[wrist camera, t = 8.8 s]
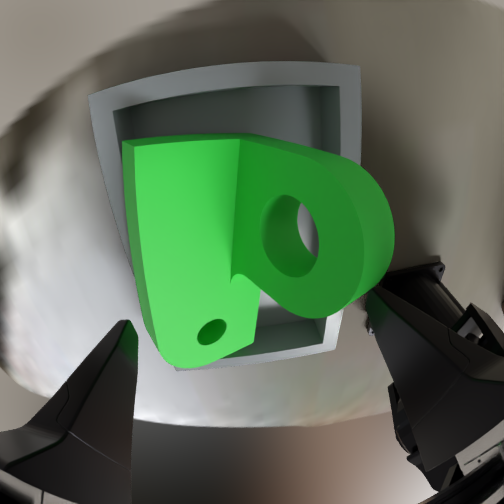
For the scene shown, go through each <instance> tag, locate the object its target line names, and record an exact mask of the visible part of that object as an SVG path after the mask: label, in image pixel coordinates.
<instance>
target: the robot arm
mask: <svg viewBox="0 0 504 504" xmlns="http://www.w3.org/2000/svg"><path fill="white" fill-rule="evenodd" d="M444 270H445V265H444V264H443V263H442V262H437V263H433V264H428V265H423V266H419V267H414V268H409V269H404V270H399V271H394V272H389V273H386V274H385V275H384V276H383V277H382V279H381V281H380V285H379V286H376V287H373V288H372V289H370V290H369V291H368V295H367V299H366V305H365V306H366V311H367V314H368V317H369V320H370V321H369V325H368V328H367V332H368V334H369V335H370V336H372V335H375V338H376V341H377V343H378V346H379V348H380V350H381V352H382V355H383V357H384V359H385V362H386V364H387V366H388V369H389V371H390V374H391V376H392V378H393V381H394V382H393V383H392V384H391V385H389V386H388V392H389V398H390V404H391V410H392V415H393V422H394V429H395V434H396V439H397V441H398V442H399V444H400V445H401V447H402V448H403V449H404V450H405V451H406V452H407V453H409V454H410V455H409V456H407V460H408V461H409V462H410V463H412V464H413V465H415V466H416V467H417V468H418V469H419V470H420V471H421V472H422V473H423V474H424V476H425V477H426V479H427V480H428V482H429V484H430V485H431V487H432V488H433V489H434V490H436V491H438V493H437V494H435V495H433V496H431V497H430V498H428V499H426V500H424V501H423V502H420V503H418V504H504V333H503V331H502V330H501V329H500V328H499V327H498V325H497V324H496V323H495V322H494V321H493V319H492V318H491V317H490V316H489V315H488V314H487V313H486V312H484V311H483V310H481V309H480V308H478V307H477V306H475V305H474V304H473V303H470V304H469V306H468V307H467V308H466V311H465V310H464V308H463V307H462V306H461V305H460V304H459V302H458V301H457V300H456V299H455V298H454V296H453V295H452V294H451V293H450V292H449V291H448V289H447V288H446V287H445V286H444V285H443V284H442V283H441V279H442V276H443V273H444ZM481 333H483V336H482V337H481V338H479V335H480V334H481ZM137 375H138V335H137V332H136V330H135V329H134V327H133V325H132V323H131V321H130V320H120V321H118V322H117V323H116V324H115V326H114V327H113V328H112V329H111V330H110V331H109V332H108V333H107V334H106V335H105V337H104V338H103V339H102V340H101V341H100V342H99V343H98V344H97V346H96V347H95V348H94V349H93V350H92V351H91V352H90V354H89V355H88V356H87V357H86V358H85V359H84V360H83V362H82V363H81V364H80V365H79V366H78V367H77V369H76V370H75V371H74V372H73V373H72V374H71V376H70V377H69V378H68V379H67V381H66V382H65V383H64V384H63V385H62V386H61V388H60V389H59V390H58V391H57V392H56V393H55V394H54V396H53V397H52V398H51V399H50V400H49V401H48V402H47V403H46V404H45V405H44V406H43V407H42V408H41V409H40V410H39V411H38V412H37V414H35V416H34V417H33V418H32V419H31V420H30V421H29V422H28V423H27V424H25V425H24V426H22V427H20V428H17V429H13V430H8V431H3V432H0V504H131V449H132V430H133V416H134V404H135V394H136V385H137Z"/></svg>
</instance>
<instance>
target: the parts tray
mask: <svg viewBox="0 0 504 504" xmlns="http://www.w3.org/2000/svg"><path fill="white" fill-rule="evenodd" d="M88 101H89V108H90V114H91V120H92V126H93V132H94V137H95V142H96V147H97V152H98V156H99V161H100V165H101V170H102V174H103V178H104V182H105V186H106V190H107V193H108V197H109V201H110V204H111V208H112V211H113V215H114V218H115V221H116V225H117V228H118V231H119V234H120V237H121V240H122V243H123V246H124V249H125V252H126V255H127V258H128V261H129V264H130V266H131V269H132V272H133V275H134V269H133V263H132V256H131V249H130V242H129V234H128V226H127V217H126V207H125V195H124V181H123V162H122V141H125V140H133V139H141V138H150V137H161V136H173V135H188V134H211V133H253V134H257V135H262V136H267V137H271V138H276V139H280V140H284V141H288V142H292V143H296V144H300V145H304V146H308V147H311V148H315V149H318V150H322V151H325V152H329V153H332V154H336V155H339V156H342V157H345V158H347V159H350V160H351V161H353V162H355V163H357V164H358V165H360V164H361V131H362V107H361V75H360V66H357V65H348V64H338V63H325V62H306V61H264V62H245V63H232V64H222V65H213V66H206V67H199V68H192V69H186V70H180V71H175V72H170V73H165V74H160V75H155V76H151V77H147V78H143V79H139V80H135V81H131V82H128V83H124V84H121V85H117V86H114V87H111V88H107V89H104V90H101V91H98V92H95V93H93V94H90V95H88ZM297 222H298V230H299V233H300V236H301V239H302V241H303V243H304V245H305V246H306V248H307V249H308V250H309V251H310V253H312V254H313V255H314V256H315V257H318V253H319V237H318V231H317V228H316V225H315V222H314V220H313V218H312V216H311V214H310V212H309V211H308V210H307V208H306V207H305V206H304V205H303V204H302V203H301V204H300V207H299V210H298V217H297ZM134 277H135V275H134ZM343 309H344V308H343ZM343 309H341V310H340V311H338V312H337V313H335V314H333V315H331V316H328V317H324V318H316V319H312V318H305V317H301V316H298V315H296V314H293V313H291V312H289V311H288V310H286V309H285V308H283V307H282V306H281V305H279V304H278V303H277V302H276V301H274V300H273V299H272V298H271V297H270V296H268V295H267V294H266V293H265V292H264V291H262V290H261V292H260V300H259V307H258V314H257V322H256V329H255V336H254V343H252V344H250V345H248V346H246V347H244V348H241V349H239V350H237V351H235V352H233V353H231V354H229V355H227V356H225V357H223V358H221V359H219V360H216V361H214V362H212V363H210V364H207V365H204V366H200V367H196V368H180V367H176V366H174V368H175V370H176V371H186V370H200V369H212V368H223V367H232V366H241V365H249V364H256V363H263V362H270V361H277V360H283V359H289V358H294V357H300V356H305V355H310V354H315V353H320V352H325V351H330V350H334V349H335V347H336V343H337V338H338V334H339V329H340V324H341V319H342V314H343Z"/></svg>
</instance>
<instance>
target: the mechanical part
mask: <svg viewBox="0 0 504 504" xmlns="http://www.w3.org/2000/svg"><path fill="white" fill-rule="evenodd" d="M122 162H123V181H124V195H125V207H126V217H127V226H128V234H129V242H130V249H131V256H132V263H133V269H134V275H135V281H136V286H137V291H138V297H139V302H140V307H141V311H142V316H143V320H144V324H145V327H146V329H147V331H148V333H149V335H150V337H151V338H152V340H153V342H154V344H155V345H156V347H157V349H158V351H159V352H160V354H161V356H162V357H163V358H164V360H165V361H166V362H168V363H169V364H171V365H173V366H176V367H180V368H196V367H200V366H204V365H207V364H210V363H212V362H214V361H216V360H219V359H221V358H223V357H225V356H227V355H229V354H231V353H233V352H235V351H237V350H239V349H241V348H244V347H246V346H248V345H250V344H252V343H254V336H255V329H256V322H257V314H258V307H259V300H260V292H261V290H262V291H264V292H265V293H266V294H267V295H268V296H270V297H271V298H272V299H273V300H274V301H276V302H277V303H278V304H279V305H281V306H282V307H283V308H285V309H286V310H288V311H289V312H291V313H293V314H296V315H298V316H301V317H305V318H312V319H316V318H324V317H328V316H331V315H333V314H335V313H337V312H338V311H340V310H341V309H343V308H344V307H346V306H347V305H349V304H350V303H352V302H353V301H355V300H356V299H358V298H359V297H360V296H362V295H363V294H365V293H366V292H368V291H369V290H370V289H372V288H373V287H374V286H375V285H376V284H377V283H378V282H379V281H380V280H381V279H382V277H383V276H384V275H385V273H386V271H387V269H388V267H389V265H390V263H391V259H392V256H393V251H394V242H395V232H394V223H393V217H392V213H391V210H390V207H389V204H388V201H387V199H386V197H385V195H384V193H383V191H382V190H381V188H380V186H379V185H378V184H377V182H376V181H375V180H374V178H373V177H372V176H371V175H370V174H369V173H368V172H367V171H366V170H365V169H364V168H362V167H361V166H360V165H358V164H357V163H355V162H353V161H351V160H350V159H347V158H345V157H342V156H339V155H336V154H332V153H329V152H325V151H322V150H318V149H315V148H311V147H308V146H304V145H300V144H296V143H292V142H288V141H284V140H280V139H276V138H271V137H267V136H262V135H257V134H253V133H211V134H188V135H173V136H161V137H150V138H141V139H133V140H125V141H122ZM301 203H302V204H303V205H304V206H305V207H306V208H307V210H308V211H309V212H310V214H311V216H312V218H313V220H314V222H315V225H316V228H317V231H318V237H319V253H318V257H315V256H314V255H313V254H312V253H310V251H309V250H308V249H307V248H306V246H305V245H304V243H303V241H302V239H301V236H300V233H299V230H298V222H297V217H298V210H299V207H300V204H301Z"/></svg>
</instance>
